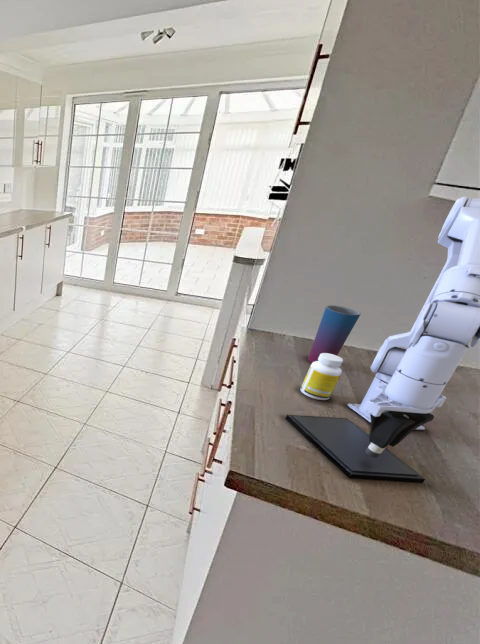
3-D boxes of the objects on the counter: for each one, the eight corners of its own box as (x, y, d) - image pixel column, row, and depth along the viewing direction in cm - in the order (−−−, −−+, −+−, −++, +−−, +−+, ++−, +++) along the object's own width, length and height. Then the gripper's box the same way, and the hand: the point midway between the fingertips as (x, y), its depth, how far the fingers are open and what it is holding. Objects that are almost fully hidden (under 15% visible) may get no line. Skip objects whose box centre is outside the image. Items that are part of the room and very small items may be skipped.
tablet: (345, 422, 84) (347, 417, 84) (422, 483, 69) (426, 478, 69) (285, 418, 85) (287, 413, 84) (349, 478, 70) (352, 473, 69)
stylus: (369, 449, 73) (399, 411, 68) (380, 457, 71) (411, 418, 67) (362, 450, 73) (391, 412, 68) (372, 458, 71) (403, 419, 66)
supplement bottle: (334, 402, 91) (353, 364, 87) (307, 399, 92) (324, 361, 88) (320, 389, 96) (337, 352, 92) (294, 386, 97) (310, 349, 93)
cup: (297, 356, 111) (319, 305, 105) (319, 356, 112) (342, 304, 106) (319, 368, 105) (343, 315, 99) (342, 368, 106) (368, 314, 100)
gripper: (423, 359, 70) (386, 424, 75) (359, 367, 67) (325, 434, 72) (478, 380, 64) (433, 449, 69) (410, 390, 60) (369, 461, 66)
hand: (381, 443), depth 70 cm, fingers closed on stylus, 2 cm apart
